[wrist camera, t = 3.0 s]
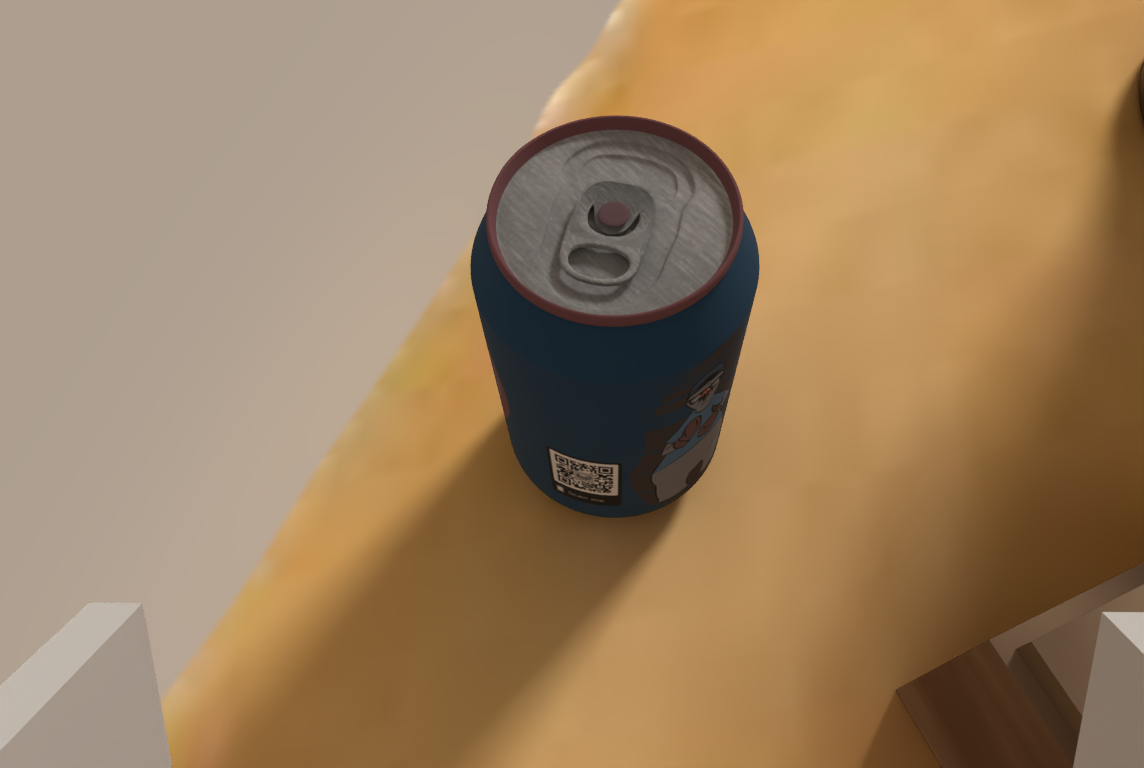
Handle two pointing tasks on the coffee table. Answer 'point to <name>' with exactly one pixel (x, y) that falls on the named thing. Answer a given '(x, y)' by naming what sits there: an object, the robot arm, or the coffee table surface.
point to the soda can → (614, 308)
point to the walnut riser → (1020, 686)
